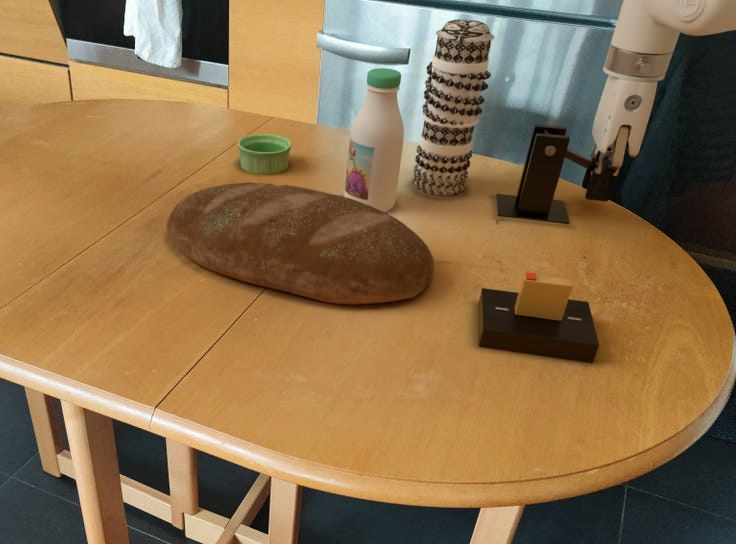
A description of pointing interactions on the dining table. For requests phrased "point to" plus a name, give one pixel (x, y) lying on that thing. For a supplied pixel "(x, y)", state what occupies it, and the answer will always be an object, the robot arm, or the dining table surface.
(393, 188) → the milk bottle
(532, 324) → the plate
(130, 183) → the dining table surface
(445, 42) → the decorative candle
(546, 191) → the latch bracket
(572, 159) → the latch lever
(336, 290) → the bread
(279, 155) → the ramekin
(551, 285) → the lock knob
